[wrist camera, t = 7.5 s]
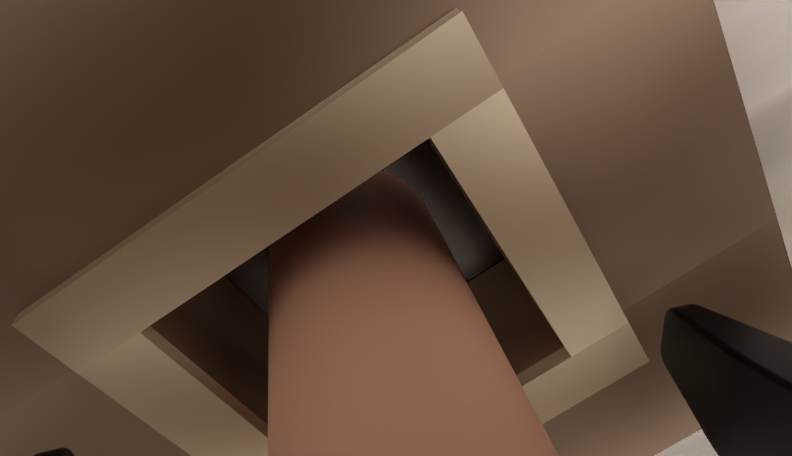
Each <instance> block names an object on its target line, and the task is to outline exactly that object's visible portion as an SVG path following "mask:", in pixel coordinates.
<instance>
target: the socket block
mask: <svg viewBox="0 0 792 456" xmlns="http://www.w3.org/2000/svg"><path fill="white" fill-rule="evenodd" d="M427 139H428V141H429V142H430V144H431V145H432V147H433V148H434V150H435V151H436V153H437V155H438V156H439V158H440V159H441V161H442V162H443V164H444V165H445V167H446V168H447V170H448V172H449V173H450V175H451V176H452V178H453V179H454V181H455V182H456V184H457V186H458V187H459V189H460V190H461V192H462V193H463V195H464V196H465V198H466V199H467V201H468V203H469V204H470V206H471V207H472V209H473V210H474V212H475V213H476V215H477V216H478V218H479V220H480V221H481V223H482V224H483V226H484V227H485V229H486V230H487V232H488V233H489V235H490V237H491V238H492V240H493V241H494V243H495V244H496V246H497V247H498V249H499V250H500V252H501V254H502V255H503V257H504V258H505V259H504V260H502V261H501V262H499V263H498V264H496V265H495V266H493V267H491V268H490V269H488V270H487V271H485V272H483V273H482V274H480V275H479V276H477V277H476V278H474V279H472V280H471V281H469V282H468V283H467V284H468V286H469V287H470V289H471V291H472V293H473V295H474V297H475V299H476V301H477V302H478V304H479V306H480V308H481V310H482V312H483V314H484V316H485V318H486V319H487V321H488V323H489V325H490V327H491V329H492V331H493V333H494V335H495V336H496V338H497V340H498V342H499V344H500V346H501V348H502V350H503V351H504V353H505V355H506V357H507V359H508V361H509V363H510V365H511V367H512V368H513V370H514V372H515V374H516V376H517V378H518V380H519V382H520V384H521V385H522V387H523V389H524V391H525V393H526V395H527V397H528V399H529V400H530V402H531V404H532V406H533V408H534V410H535V412H536V414H537V416H538V417H539V419H540V421H541V423H542V425H543V427H544V429H545V431H546V433H547V434H548V436H549V438H550V440H551V442H552V444H553V446H554V448H555V449H556V451H557V453H558V455H559V456H654V455H655V454H657V453H659V452H661V451H662V450H664V449H666V448H668V447H670V446H671V445H673V444H675V443H677V442H678V441H680V440H682V439H684V438H685V437H687V436H689V435H691V434H692V433H694V432H696V431H698V430H700V429H701V427H700V425H699V423H698V422H697V420H696V418H695V416H694V415H693V413H692V411H691V410H690V408H689V406H688V404H687V403H686V401H685V399H684V398H683V396H682V394H681V392H680V391H679V389H678V387H677V385H676V384H675V382H674V380H673V379H672V377H671V375H670V373H669V372H668V370H667V368H666V367H665V365H664V363H663V360H662V357H661V353H660V345H661V337H662V329H663V321H664V315H665V313H666V311H667V310H668V309H670V308H672V307H677V306H681V305H685V304H697V305H700V306H702V307H705V308H707V309H710V310H712V311H715V312H717V313H720V314H722V315H725V316H727V317H730V318H732V319H735V320H737V321H740V322H742V323H745V324H747V325H750V326H752V327H755V328H757V329H760V330H763V331H765V332H768V333H770V334H773V335H775V336H778V337H780V338H783V339H785V340H788V341H790V342H792V268H791V265H790V261H789V258H788V255H787V251H786V248H785V244H784V241H783V237H782V234H781V231H780V227H779V224H778V220H777V217H776V213H775V210H774V207H773V203H772V200H771V196H770V193H769V189H768V186H767V183H766V179H765V176H764V172H763V169H762V165H761V162H760V159H759V155H758V152H757V148H756V145H755V141H754V138H753V135H752V131H751V128H750V124H749V121H748V117H747V114H746V111H745V107H744V104H743V100H742V97H741V93H740V90H739V87H738V83H737V80H736V76H735V73H734V70H733V66H732V63H731V59H730V56H729V52H728V49H727V46H726V42H725V39H724V35H723V32H722V28H721V25H720V22H719V18H718V15H717V11H716V8H715V4H714V1H713V0H0V456H34V455H35V454H37V453H40V452H44V451H48V450H53V449H57V448H62V447H63V448H68V449H70V450H71V451H72V452H73V454H74V455H75V456H268V338H269V318H268V317H267V316H266V315H265V314H264V313H263V312H262V311H261V310H260V309H259V308H258V307H257V306H256V305H255V304H254V303H253V302H252V301H251V300H250V299H249V298H248V297H247V296H246V295H245V294H244V293H243V292H242V291H241V290H239V289H238V288H237V287H236V286H235V285H234V284H233V283H232V282H231V281H230V280H229V279H228V278H227V277H226V276H225V275H226V274H228V273H229V272H231V271H232V270H234V269H235V268H237V267H238V266H240V265H241V264H243V263H244V262H246V261H247V260H248V259H250V258H251V257H253V256H254V255H256V254H257V253H259V252H260V251H262V250H263V249H265V248H266V247H268V246H269V245H271V244H272V243H274V242H275V241H277V240H278V239H280V238H281V237H283V236H284V235H286V234H287V233H289V232H290V231H292V230H293V229H295V228H296V227H298V226H299V225H301V224H302V223H304V222H305V221H307V220H308V219H309V218H311V217H312V216H314V215H315V214H317V213H318V212H320V211H321V210H323V209H324V208H326V207H327V206H329V205H330V204H332V203H333V202H335V201H336V200H338V199H339V198H341V197H342V196H344V195H345V194H347V193H348V192H350V191H351V190H353V189H354V188H356V187H357V186H359V185H360V184H362V183H363V182H365V181H366V180H368V179H369V178H370V177H372V176H373V175H375V174H376V173H378V172H379V171H381V170H382V169H384V168H385V167H387V166H388V165H390V164H391V163H393V162H394V161H396V160H397V159H399V158H400V157H402V156H403V155H405V154H406V153H408V152H409V151H411V150H412V149H414V148H415V147H417V146H418V145H420V144H421V143H423V142H424V141H426V140H427Z"/></svg>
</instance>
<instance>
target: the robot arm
mask: <svg viewBox="0 0 792 456" xmlns="http://www.w3.org/2000/svg"><path fill="white" fill-rule="evenodd" d="M660 353H661V357H662V360H663V363H664V365H665V367H666V368H667V370H668V372H669V373H670V375H671V377H672V379H673V380H674V382H675V384H676V385H677V387H678V389H679V391H680V392H681V394H682V396H683V398H684V399H685V401H686V403H687V404H688V406H689V408H690V410H691V411H692V413H693V415H694V416H695V418H696V420H697V422H698V423H699V425H700V427H701V428H702V430H703V432H704V434H705V435H706V437H707V439H708V440H709V442H710V443H711V445H712V447H713V448H714V450H715V451H716V453H717V454H718V455H719V456H792V342H790V341H788V340H785V339H783V338H780V337H778V336H775V335H773V334H770V333H768V332H765V331H763V330H760V329H757V328H755V327H752V326H750V325H747V324H745V323H742V322H740V321H737V320H735V319H732V318H730V317H727V316H725V315H722V314H720V313H717V312H715V311H712V310H710V309H707V308H705V307H702V306H700V305H697V304H685V305H681V306H677V307H672V308H670V309H668V310H667V311H666V313H665V315H664V321H663V329H662V337H661V345H660ZM34 456H75V455H74V454H73V452H72V451H71V450H70V449H68V448H63V447H62V448H57V449H53V450H48V451H44V452H40V453H37V454H35V455H34Z"/></svg>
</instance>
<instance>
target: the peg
mask: <svg viewBox="0 0 792 456" xmlns="http://www.w3.org/2000/svg"><path fill="white" fill-rule="evenodd" d="M268 456H559V455H558V453H557V451H556V449H555V448H554V446H553V444H552V442H551V440H550V438H549V436H548V434H547V433H546V431H545V429H544V427H543V425H542V423H541V421H540V419H539V417H538V416H537V414H536V412H535V410H534V408H533V406H532V404H531V402H530V400H529V399H528V397H527V395H526V393H525V391H524V389H523V387H522V385H521V384H520V382H519V380H518V378H517V376H516V374H515V372H514V370H513V368H512V367H511V365H510V363H509V361H508V359H507V357H506V355H505V353H504V351H503V350H502V348H501V346H500V344H499V342H498V340H497V338H496V336H495V335H494V333H493V331H492V329H491V327H490V325H489V323H488V321H487V319H486V318H485V316H484V314H483V312H482V310H481V308H480V306H479V304H478V302H477V301H476V299H475V297H474V295H473V293H472V291H471V289H470V287H469V286H468V284H467V282H466V280H465V278H464V276H463V274H462V272H461V270H460V269H459V267H458V265H457V263H456V261H455V259H454V257H453V255H452V253H451V252H450V250H449V248H448V246H447V244H446V242H445V240H444V238H443V236H442V235H441V233H440V231H439V229H438V227H437V225H436V223H435V221H434V220H433V218H432V216H431V214H430V212H429V210H428V208H427V206H426V205H425V203H424V201H423V200H422V198H421V197H420V196H419V194H418V193H417V192H416V191H415V190H414V189H413V188H412V187H411V186H410V185H409V184H407V183H406V182H404V181H403V180H401V179H400V178H398V177H396V176H394V175H392V174H390V173H387V172H384V171H379V172H378V173H376V174H375V175H373V176H372V177H370V178H369V179H368V180H366V181H365V182H363V183H362V184H360V185H359V186H357V187H356V188H354V189H353V190H351V191H350V192H348V193H347V194H345V195H344V196H342V197H341V198H339V199H338V200H336V201H335V202H333V203H332V204H330V205H329V206H327V207H326V208H324V209H323V210H321V211H320V212H318V213H317V214H315V215H314V216H312V217H311V218H309V219H308V220H307V221H305V222H304V223H302V224H301V225H299V226H298V227H296V228H295V229H293V230H292V231H290V232H289V233H287V234H286V235H284V236H283V237H281V238H280V239H278V240H277V241H275V242H274V243H272V244H271V245H269V338H268Z"/></svg>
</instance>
